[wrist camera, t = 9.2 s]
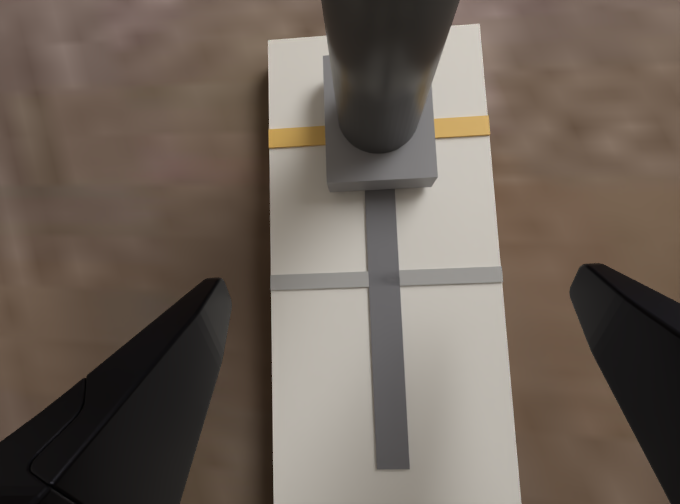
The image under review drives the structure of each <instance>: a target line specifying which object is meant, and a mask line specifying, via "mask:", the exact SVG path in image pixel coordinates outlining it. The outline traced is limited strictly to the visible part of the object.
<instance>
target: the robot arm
mask: <svg viewBox="0 0 680 504" xmlns="http://www.w3.org/2000/svg"><path fill="white" fill-rule="evenodd" d="M570 298H571V301H572V303H573V306H574V309H575V311H576V314H577V316H578V319H579V321H580V324H581V327H582V329H583V332H584V334H585V337H586V340H587V342H588V345H589V347H590V349H591V352H592V354H593V356H594V358H595V360H596V362H597V364H598V366H599V367H600V369H601V371H602V373H603V375H604V377H605V379H606V381H607V383H608V385H609V387H610V389H611V390H612V392H613V394H614V396H615V398H616V400H617V402H618V404H619V406H620V408H621V410H622V411H623V413H624V415H625V417H626V419H627V421H628V423H629V425H630V427H631V429H632V431H633V433H634V434H635V436H636V438H637V440H638V442H639V444H640V446H641V448H642V450H643V452H644V454H645V455H646V457H647V459H648V461H649V463H650V465H651V467H652V469H653V471H654V473H655V475H656V477H657V478H658V480H659V482H660V484H661V486H662V488H663V490H664V492H665V494H666V496H667V498H668V499H669V501H670V503H671V504H680V303H678V302H676V301H674V300H672V299H670V298H668V297H666V296H664V295H663V294H661V293H659V292H657V291H655V290H653V289H651V288H649V287H647V286H645V285H643V284H641V283H639V282H637V281H635V280H633V279H631V278H629V277H627V276H625V275H623V274H621V273H619V272H618V271H616V270H614V269H612V268H610V267H608V266H606V265H604V264H600V263H594V264H583V265H582V266H580V268H579V269H578V272H577V274H576V276H575V278H574V280H573V283H572V285H571V287H570ZM231 308H232V302H231V298H230V295H229V293H228V290H227V287H226V285H225V282H224V280H223V279H222V278H207V279H205V280H203V281H202V282H201V283H200V284H198V285H197V286H196V287H195V288H193V289H192V290H191V291H190V292H188V293H187V294H186V295H185V296H184V297H182V298H181V299H180V300H179V301H177V302H176V303H175V304H174V305H173V306H171V307H170V308H169V309H168V310H166V311H165V312H164V313H163V314H162V315H160V316H159V317H158V318H157V319H155V320H154V321H153V322H152V323H150V324H149V325H148V326H147V327H146V328H144V329H143V330H142V331H141V332H139V333H138V334H137V335H136V336H135V337H133V338H132V339H131V340H130V341H128V342H127V343H126V344H125V345H124V346H122V347H121V348H120V349H119V350H117V351H116V352H115V353H114V354H112V355H111V356H110V357H109V358H108V359H106V360H105V361H104V362H103V363H101V364H100V365H99V366H98V367H97V368H95V369H94V370H93V371H92V372H90V373H89V374H88V375H87V377H86V378H83V379H82V380H80V381H79V382H78V383H77V384H76V385H74V386H73V387H72V388H71V389H69V390H68V391H67V392H66V393H64V394H63V395H62V396H61V397H59V398H58V399H57V400H56V401H54V402H53V403H52V404H50V405H49V406H48V407H47V408H45V409H44V410H43V411H42V412H40V413H39V414H38V415H36V416H35V417H33V418H32V419H31V420H29V421H28V422H27V423H25V424H24V425H23V426H21V427H20V428H19V429H17V430H16V431H15V432H13V433H12V434H11V435H9V436H8V437H6V438H5V439H4V440H2V441H1V442H0V504H180V501H181V498H182V494H183V491H184V488H185V484H186V481H187V477H188V474H189V471H190V467H191V464H192V461H193V457H194V454H195V451H196V447H197V444H198V441H199V437H200V434H201V431H202V427H203V424H204V420H205V417H206V414H207V410H208V407H209V404H210V400H211V397H212V394H213V390H214V387H215V384H216V380H217V377H218V373H219V370H220V367H221V363H222V359H223V354H224V348H225V343H226V337H227V331H228V326H229V320H230V314H231Z"/></svg>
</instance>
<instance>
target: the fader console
mask: <svg viewBox="0 0 680 504" xmlns="http://www.w3.org/2000/svg"><path fill="white" fill-rule="evenodd" d="M326 55H329V51H328V44H327V37H326V36H317V37H305V38H292V39H279V40H268V78H269V129H268V130H269V161H270V244H271V275H270V290H271V327H272V410H273V494H274V504H521V495H520V483H519V472H518V460H517V449H516V437H515V426H514V414H513V403H512V391H511V380H510V368H509V357H508V345H507V334H506V322H505V311H504V299H503V288H502V282H503V276H502V266H501V265H500V253H499V242H498V230H497V219H496V207H495V196H494V184H493V173H492V161H491V150H490V138H489V135H490V127H489V115H487V104H486V92H485V81H484V69H483V58H482V46H481V35H480V24H470V25H457V26H451V28H450V31H449V34H448V37H447V40H446V43H445V46H444V49H443V52H442V55H441V58H440V61H439V64H438V67H437V70H436V73H435V76H434V79H433V82H432V99H433V113H434V128H435V142H436V157H437V172H438V178H437V179H436V181H435V182H434V184H433V185H432V187H422V188H402V189H383V190H364V191H345V192H330V191H329V188H328V185H327V176H326V144H325V112H324V80H323V56H326Z"/></svg>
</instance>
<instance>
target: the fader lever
mask: <svg viewBox="0 0 680 504" xmlns="http://www.w3.org/2000/svg"><path fill="white" fill-rule="evenodd" d="M321 1H322V9H323V16H324V23H325V30H326V37H327V44H328V51H329V55H326V56H323V80H324V112H325V144H326V176H327V185H328V188H329V191H330V192H345V191H364V190H383V189H402V188H422V187H432V185H433V184H434V182H435V181H436V179H437V178H438V172H437V157H436V142H435V128H434V113H433V99H432V82H433V79H434V76H435V73H436V70H437V67H438V64H439V61H440V58H441V55H442V52H443V49H444V46H445V43H446V40H447V37H448V34H449V31H450V28H451V25H452V22H453V19H454V16H455V13H456V10H457V7H458V4H459V1H460V0H321Z"/></svg>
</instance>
